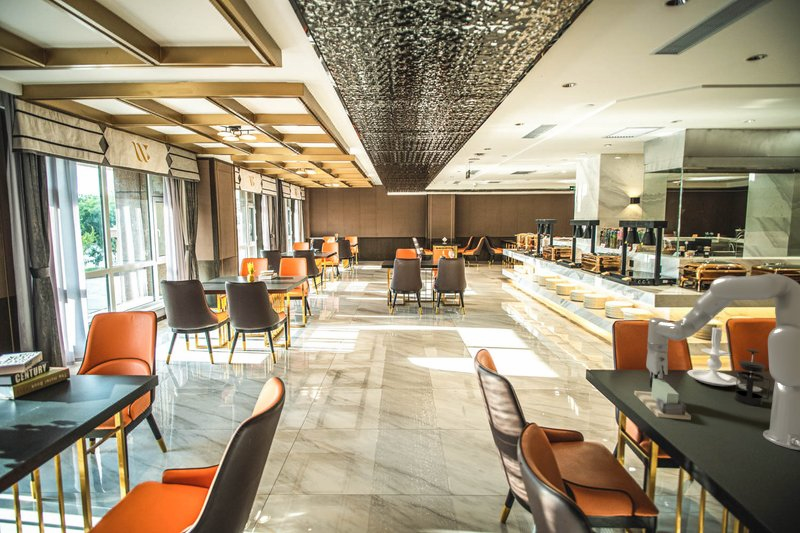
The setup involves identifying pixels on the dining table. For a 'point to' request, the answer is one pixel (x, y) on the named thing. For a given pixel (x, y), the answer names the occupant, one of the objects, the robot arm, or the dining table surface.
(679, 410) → the board
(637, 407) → the dining table surface
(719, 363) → the candlestick
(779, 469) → the dining table surface
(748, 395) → the french press
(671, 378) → the dining table surface
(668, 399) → the pale green block
